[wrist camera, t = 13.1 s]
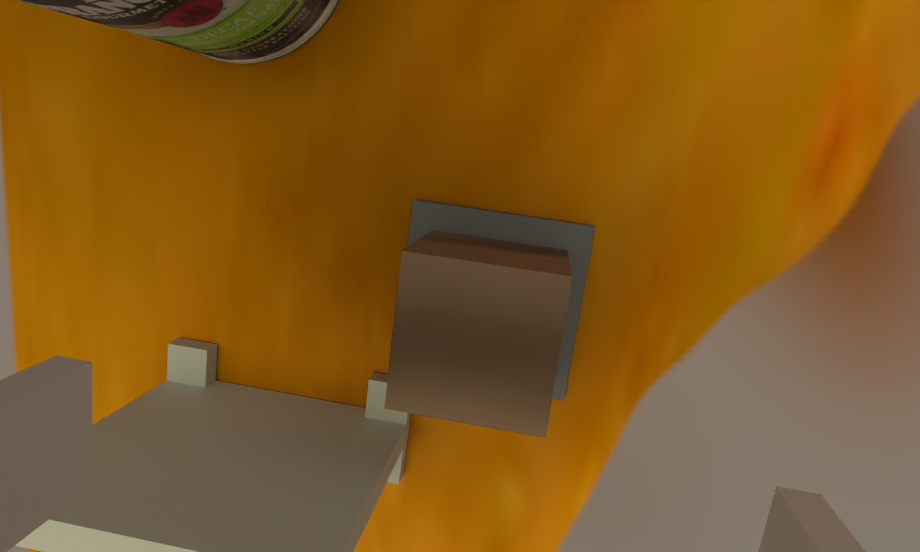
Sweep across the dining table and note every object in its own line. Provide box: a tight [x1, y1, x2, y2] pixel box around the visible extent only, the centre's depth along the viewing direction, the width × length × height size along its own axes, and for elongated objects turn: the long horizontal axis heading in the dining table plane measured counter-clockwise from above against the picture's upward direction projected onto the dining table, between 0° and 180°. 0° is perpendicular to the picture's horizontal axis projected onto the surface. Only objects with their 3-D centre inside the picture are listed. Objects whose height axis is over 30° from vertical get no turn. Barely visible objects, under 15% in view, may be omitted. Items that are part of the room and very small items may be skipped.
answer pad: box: [407, 199, 595, 400], centre depth 29 cm, size 8×8×1 cm
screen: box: [15, 338, 411, 552], centre depth 26 cm, size 5×12×12 cm, turn 82°
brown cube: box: [384, 230, 572, 437], centre depth 26 cm, size 6×6×6 cm
